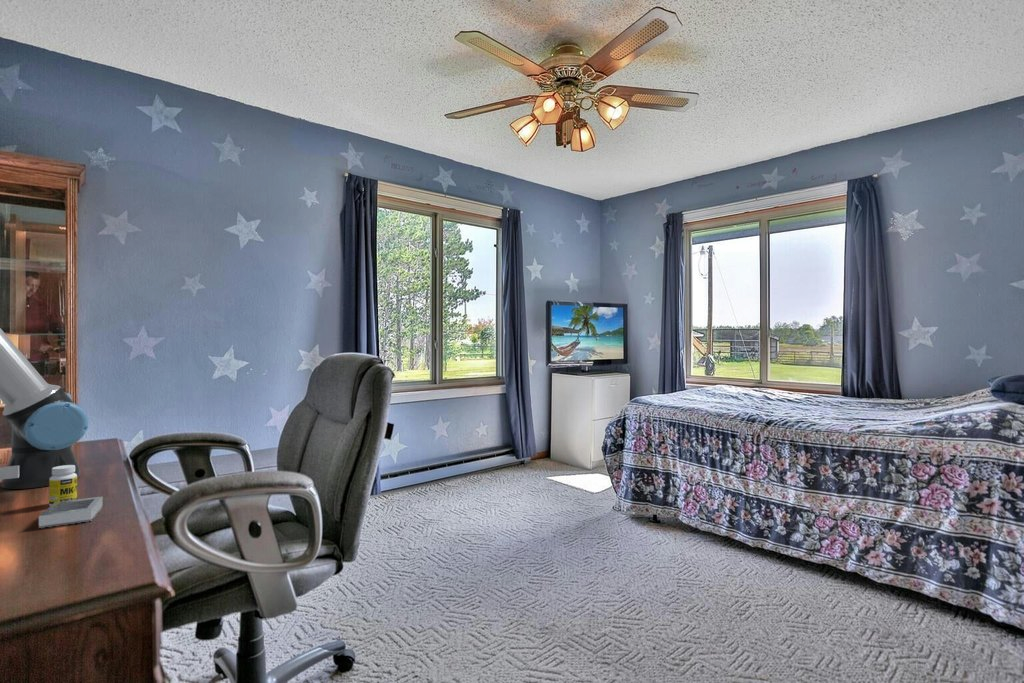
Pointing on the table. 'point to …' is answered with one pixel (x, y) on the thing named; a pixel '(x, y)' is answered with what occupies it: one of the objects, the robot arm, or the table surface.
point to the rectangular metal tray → (71, 512)
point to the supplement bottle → (63, 484)
